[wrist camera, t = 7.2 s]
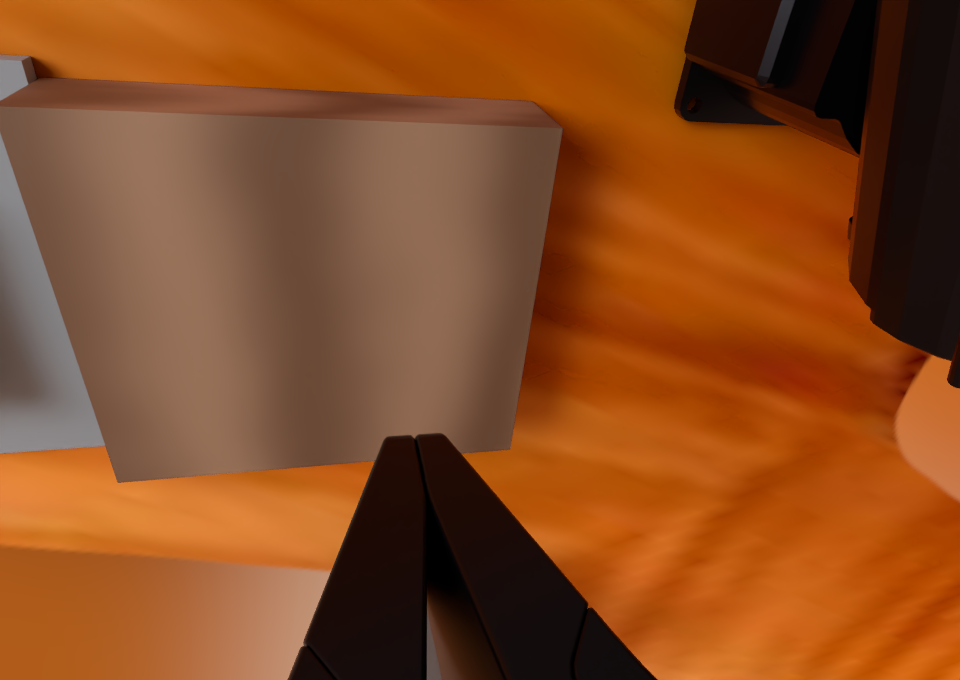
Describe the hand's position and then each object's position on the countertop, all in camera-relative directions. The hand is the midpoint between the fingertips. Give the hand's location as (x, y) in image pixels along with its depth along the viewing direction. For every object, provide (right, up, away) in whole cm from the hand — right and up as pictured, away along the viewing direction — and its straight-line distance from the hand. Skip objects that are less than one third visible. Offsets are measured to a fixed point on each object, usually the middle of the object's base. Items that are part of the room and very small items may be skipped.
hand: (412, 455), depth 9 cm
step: (-5, +4, +12) cm, 13 cm away
